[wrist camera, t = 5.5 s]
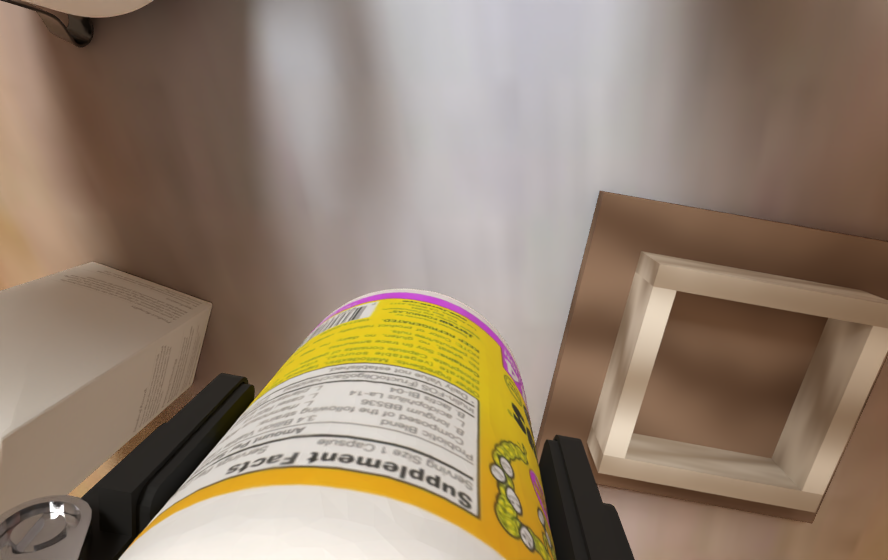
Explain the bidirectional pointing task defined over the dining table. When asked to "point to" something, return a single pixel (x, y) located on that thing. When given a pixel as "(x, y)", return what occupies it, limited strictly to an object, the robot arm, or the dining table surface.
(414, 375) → the supplement bottle
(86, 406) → the skincare box
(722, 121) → the dining table surface
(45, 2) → the coffee press
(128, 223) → the dining table surface
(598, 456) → the collar dock
